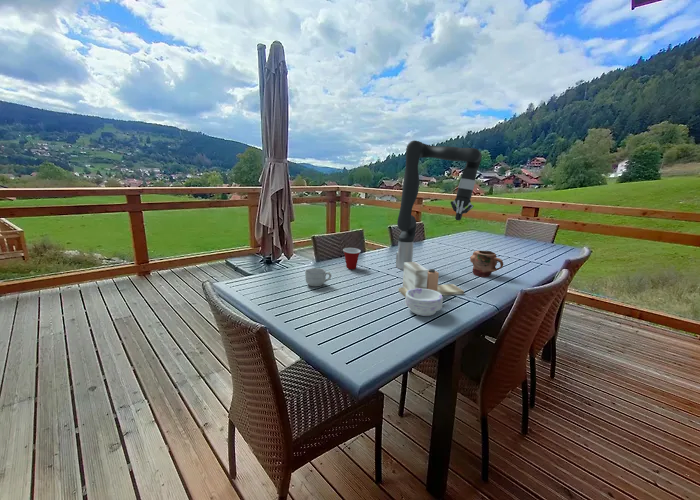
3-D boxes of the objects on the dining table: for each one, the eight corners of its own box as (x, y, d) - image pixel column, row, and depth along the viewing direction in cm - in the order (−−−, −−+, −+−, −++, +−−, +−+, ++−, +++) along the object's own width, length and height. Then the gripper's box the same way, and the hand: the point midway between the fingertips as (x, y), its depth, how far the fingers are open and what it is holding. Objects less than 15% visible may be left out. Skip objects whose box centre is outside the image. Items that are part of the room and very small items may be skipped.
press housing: (450, 285, 157) (453, 259, 154) (466, 295, 144) (469, 267, 140) (397, 289, 151) (398, 262, 147) (407, 299, 137) (409, 271, 134)
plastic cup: (353, 272, 177) (353, 252, 175) (339, 268, 184) (339, 249, 181) (363, 268, 186) (364, 249, 183) (350, 264, 192) (350, 246, 189)
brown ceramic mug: (506, 277, 171) (509, 254, 167) (497, 282, 163) (500, 257, 160) (473, 269, 185) (475, 247, 182) (463, 273, 178) (465, 250, 174)
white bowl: (414, 301, 136) (416, 284, 134) (447, 310, 127) (448, 293, 125) (397, 312, 125) (398, 294, 123) (431, 323, 115) (433, 304, 114)
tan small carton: (432, 286, 150) (434, 267, 147) (437, 290, 145) (439, 270, 142) (423, 287, 149) (424, 268, 146) (427, 291, 144) (429, 271, 141)
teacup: (301, 286, 154) (300, 271, 152) (313, 280, 163) (312, 266, 161) (323, 291, 147) (323, 275, 146) (335, 284, 157) (335, 269, 155)
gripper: (450, 185, 160) (443, 217, 164) (474, 189, 150) (465, 222, 155) (457, 187, 165) (450, 218, 169) (480, 190, 155) (472, 223, 160)
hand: (457, 220), depth 162 cm, fingers closed
